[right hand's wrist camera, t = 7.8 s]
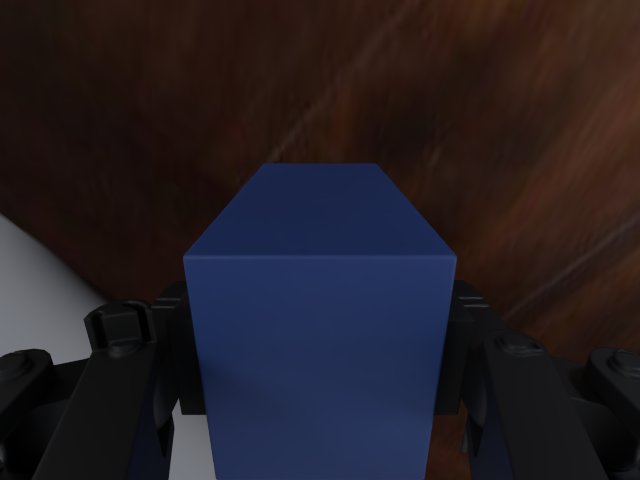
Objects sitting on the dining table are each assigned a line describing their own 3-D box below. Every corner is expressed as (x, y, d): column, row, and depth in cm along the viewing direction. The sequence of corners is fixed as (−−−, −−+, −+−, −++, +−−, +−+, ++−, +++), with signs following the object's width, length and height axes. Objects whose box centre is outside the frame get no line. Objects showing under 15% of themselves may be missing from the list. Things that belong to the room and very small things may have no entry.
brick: (370, 282, 19) (425, 481, 9) (269, 282, 19) (215, 482, 9) (376, 163, 17) (459, 256, 7) (263, 162, 17) (181, 255, 7)
